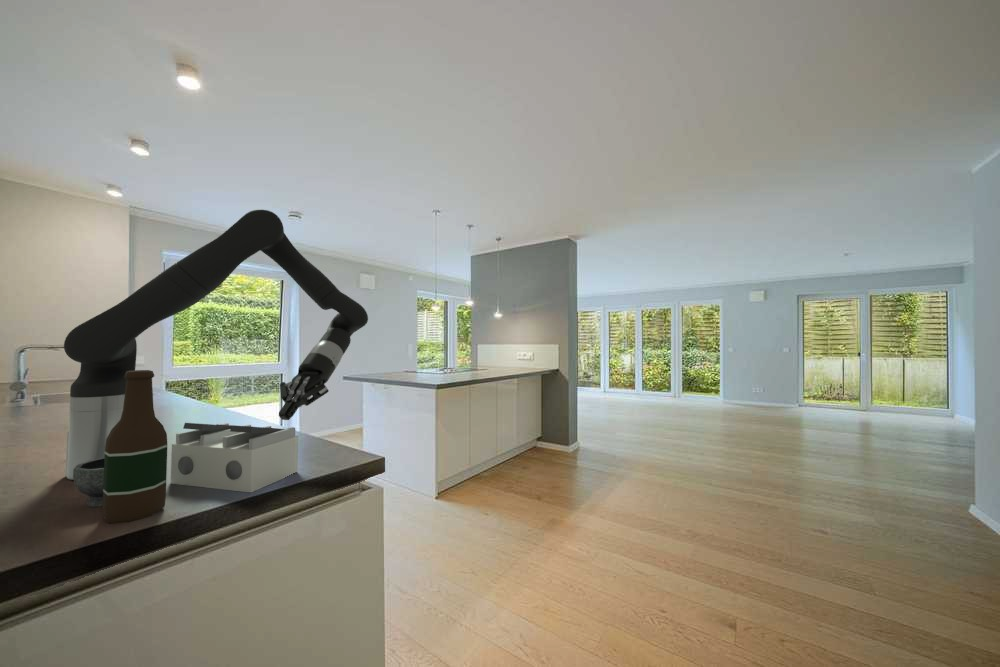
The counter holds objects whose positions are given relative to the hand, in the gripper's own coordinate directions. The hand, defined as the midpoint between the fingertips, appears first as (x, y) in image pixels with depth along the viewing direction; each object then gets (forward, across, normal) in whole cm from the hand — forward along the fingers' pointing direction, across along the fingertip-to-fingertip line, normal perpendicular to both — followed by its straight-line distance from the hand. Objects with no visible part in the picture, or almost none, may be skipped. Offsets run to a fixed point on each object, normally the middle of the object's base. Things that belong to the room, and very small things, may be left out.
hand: (283, 417), depth 85 cm
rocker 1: (+5, -12, -3) cm, 13 cm away
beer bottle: (+26, -7, -8) cm, 28 cm away
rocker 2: (+5, 0, -3) cm, 6 cm away
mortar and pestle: (+23, -18, -6) cm, 29 cm away
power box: (+13, -6, +4) cm, 15 cm away
